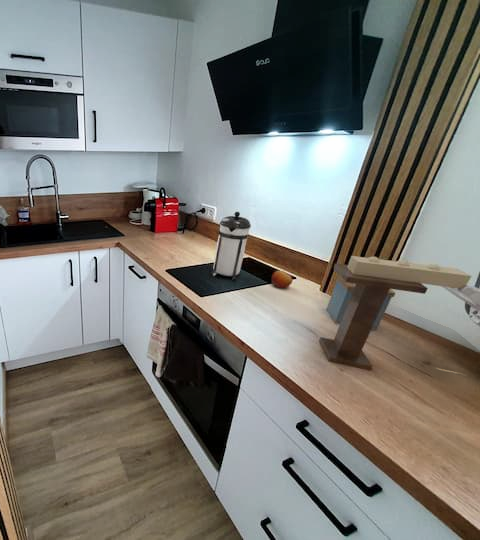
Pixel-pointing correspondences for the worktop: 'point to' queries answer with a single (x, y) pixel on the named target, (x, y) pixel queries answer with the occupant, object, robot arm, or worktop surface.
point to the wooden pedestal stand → (361, 316)
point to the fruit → (281, 279)
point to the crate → (342, 299)
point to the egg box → (408, 272)
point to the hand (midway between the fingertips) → (448, 279)
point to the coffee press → (231, 245)
